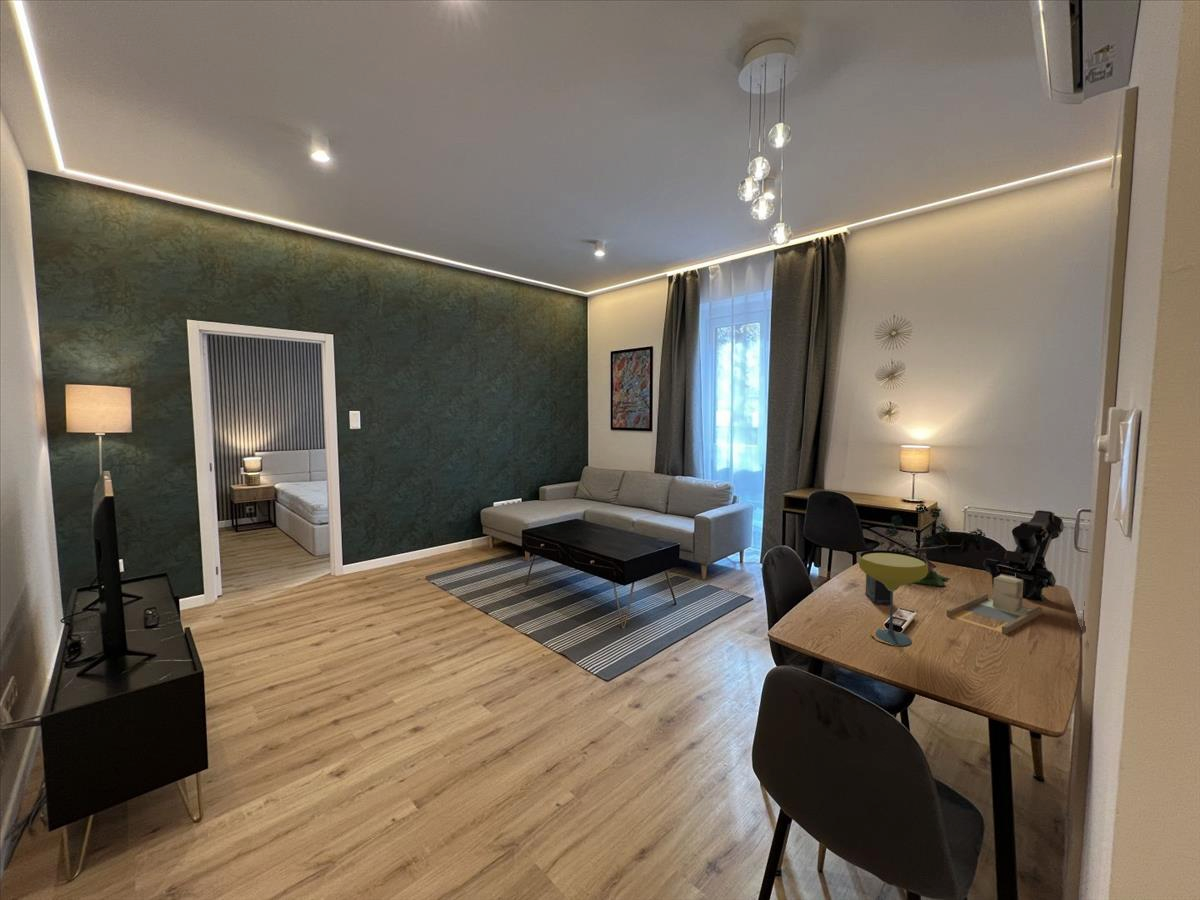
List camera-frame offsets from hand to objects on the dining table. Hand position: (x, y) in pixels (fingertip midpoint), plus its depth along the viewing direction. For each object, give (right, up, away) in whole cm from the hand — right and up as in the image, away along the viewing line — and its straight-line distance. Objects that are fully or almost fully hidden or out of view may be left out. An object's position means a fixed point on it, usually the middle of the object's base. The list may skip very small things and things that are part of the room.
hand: (1009, 592), depth 167 cm
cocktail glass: (-50, -9, -17) cm, 54 cm away
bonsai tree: (-8, -5, +29) cm, 30 cm away
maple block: (-1, -5, -1) cm, 5 cm away
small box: (-37, -7, +13) cm, 40 cm away
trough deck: (-10, -7, -5) cm, 13 cm away
